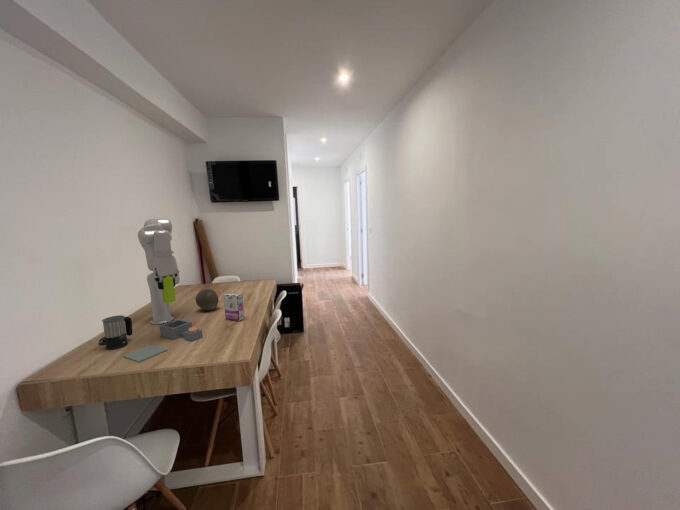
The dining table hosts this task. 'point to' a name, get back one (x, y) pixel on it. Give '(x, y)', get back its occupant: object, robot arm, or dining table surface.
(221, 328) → the dining table surface
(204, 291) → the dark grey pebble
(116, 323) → the milk frother
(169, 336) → the holder
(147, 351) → the mat
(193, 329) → the tan ball
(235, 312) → the candy bar box
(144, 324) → the dining table surface
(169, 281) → the soap dispenser
